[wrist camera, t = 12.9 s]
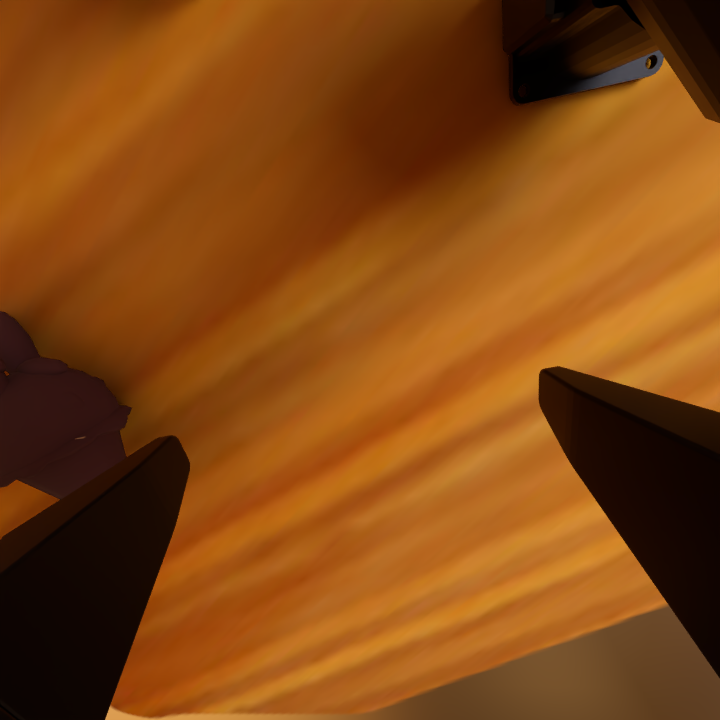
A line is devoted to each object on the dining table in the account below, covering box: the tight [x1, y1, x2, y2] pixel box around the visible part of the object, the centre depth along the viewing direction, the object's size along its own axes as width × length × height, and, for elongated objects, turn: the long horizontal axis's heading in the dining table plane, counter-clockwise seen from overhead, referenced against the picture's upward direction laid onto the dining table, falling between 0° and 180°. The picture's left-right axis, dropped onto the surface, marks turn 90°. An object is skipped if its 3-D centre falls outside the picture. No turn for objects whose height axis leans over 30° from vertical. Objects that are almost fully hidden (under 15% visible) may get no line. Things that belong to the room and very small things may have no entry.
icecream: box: [0, 311, 132, 500], centre depth 21 cm, size 7×7×15 cm
